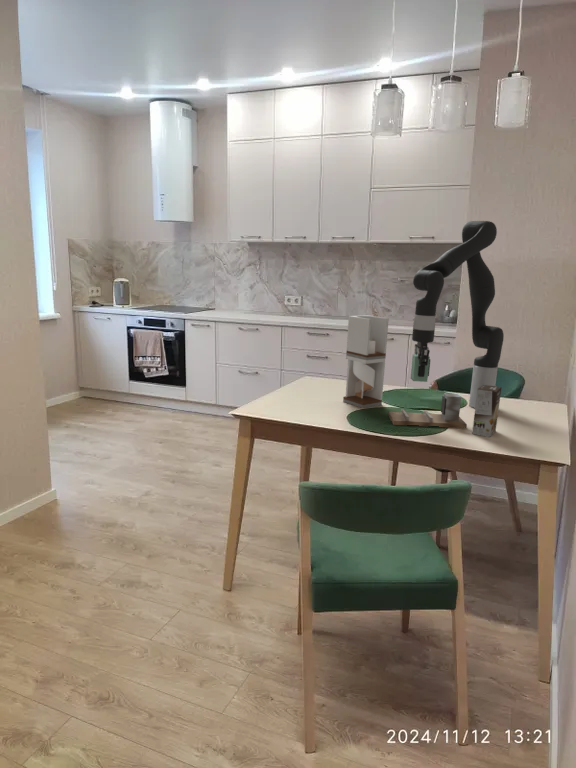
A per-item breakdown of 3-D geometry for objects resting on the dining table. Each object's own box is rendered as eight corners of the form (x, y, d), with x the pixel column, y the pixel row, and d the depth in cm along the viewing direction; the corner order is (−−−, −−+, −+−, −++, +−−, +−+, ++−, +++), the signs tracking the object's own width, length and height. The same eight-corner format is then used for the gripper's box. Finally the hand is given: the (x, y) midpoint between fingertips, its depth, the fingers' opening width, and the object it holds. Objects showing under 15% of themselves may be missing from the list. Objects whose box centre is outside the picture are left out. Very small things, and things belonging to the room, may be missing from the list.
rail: (457, 418, 210) (460, 391, 208) (466, 428, 199) (469, 399, 196) (388, 415, 211) (390, 388, 208) (393, 424, 199) (395, 396, 197)
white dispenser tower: (343, 401, 229) (348, 316, 221) (361, 398, 235) (368, 315, 227) (362, 408, 220) (369, 319, 212) (381, 404, 226) (388, 318, 218)
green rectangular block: (425, 378, 204) (428, 354, 202) (428, 381, 199) (431, 357, 197) (410, 378, 204) (412, 353, 202) (413, 381, 199) (415, 356, 197)
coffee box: (490, 437, 189) (496, 391, 186) (471, 433, 192) (477, 388, 189) (496, 431, 197) (501, 386, 193) (477, 427, 200) (483, 384, 196)
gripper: (439, 331, 190) (434, 379, 194) (430, 326, 204) (425, 371, 208) (417, 330, 190) (412, 378, 194) (409, 325, 204) (405, 370, 208)
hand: (419, 374), depth 201 cm, fingers closed on green rectangular block, 5 cm apart
